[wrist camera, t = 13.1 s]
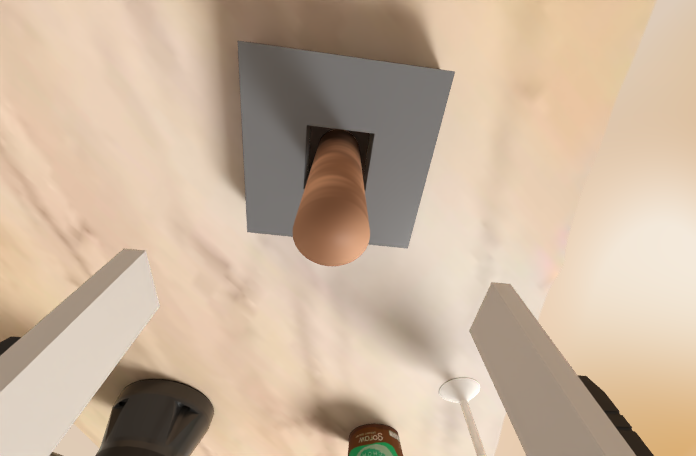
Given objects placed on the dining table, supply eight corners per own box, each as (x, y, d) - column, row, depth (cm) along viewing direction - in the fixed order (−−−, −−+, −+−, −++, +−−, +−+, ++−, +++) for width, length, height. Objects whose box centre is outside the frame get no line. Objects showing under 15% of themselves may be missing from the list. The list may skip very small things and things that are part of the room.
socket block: (257, 213, 33) (247, 232, 29) (252, 42, 25) (237, 40, 21) (401, 228, 34) (407, 248, 30) (440, 69, 26) (455, 71, 22)
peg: (316, 167, 30) (291, 262, 16) (319, 126, 28) (293, 195, 14) (355, 171, 30) (363, 269, 17) (361, 131, 28) (376, 204, 15)
